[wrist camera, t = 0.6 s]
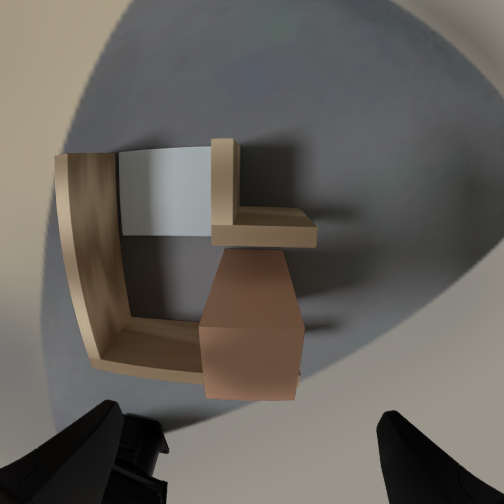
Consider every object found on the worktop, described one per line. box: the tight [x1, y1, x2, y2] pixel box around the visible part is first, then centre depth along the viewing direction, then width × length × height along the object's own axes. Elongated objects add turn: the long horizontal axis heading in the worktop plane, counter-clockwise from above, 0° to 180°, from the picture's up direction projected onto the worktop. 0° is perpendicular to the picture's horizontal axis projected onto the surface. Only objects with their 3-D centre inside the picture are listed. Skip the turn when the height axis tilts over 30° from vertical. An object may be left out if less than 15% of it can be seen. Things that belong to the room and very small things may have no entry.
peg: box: [199, 249, 305, 401], centre depth 16 cm, size 4×4×10 cm
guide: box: [55, 139, 318, 387], centre depth 17 cm, size 14×14×6 cm
